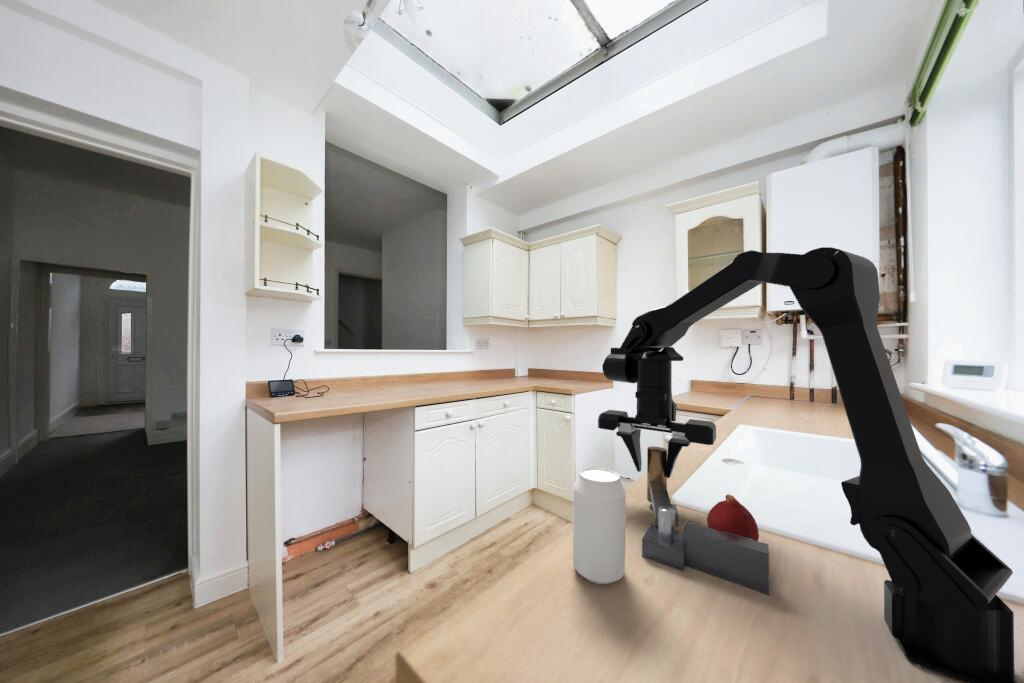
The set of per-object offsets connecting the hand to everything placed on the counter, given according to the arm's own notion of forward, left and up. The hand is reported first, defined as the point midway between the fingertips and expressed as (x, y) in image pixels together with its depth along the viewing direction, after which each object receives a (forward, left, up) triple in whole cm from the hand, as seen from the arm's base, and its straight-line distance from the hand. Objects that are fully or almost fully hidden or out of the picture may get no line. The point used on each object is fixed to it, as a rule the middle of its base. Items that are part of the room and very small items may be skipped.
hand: (653, 474), depth 60 cm
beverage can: (+1, +23, -6) cm, 24 cm away
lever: (-2, +5, -4) cm, 7 cm away
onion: (-12, +9, -6) cm, 16 cm away
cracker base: (-9, +14, -6) cm, 18 cm away
